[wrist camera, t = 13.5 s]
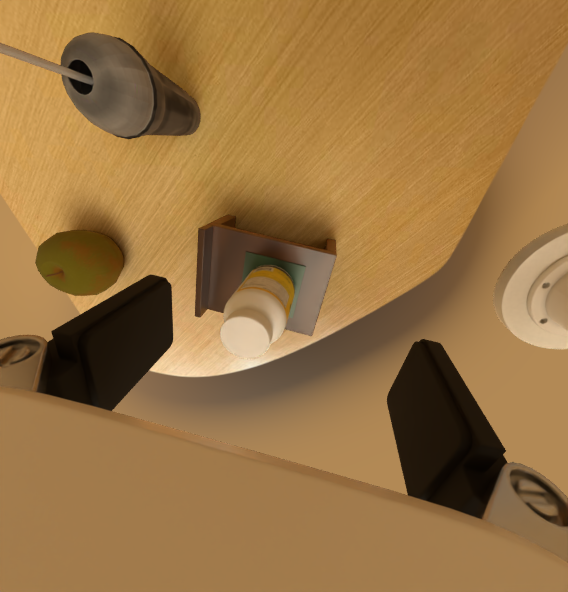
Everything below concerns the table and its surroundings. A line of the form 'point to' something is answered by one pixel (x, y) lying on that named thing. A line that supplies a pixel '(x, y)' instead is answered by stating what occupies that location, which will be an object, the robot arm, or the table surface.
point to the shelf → (251, 254)
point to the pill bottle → (257, 312)
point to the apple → (80, 262)
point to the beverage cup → (119, 88)
